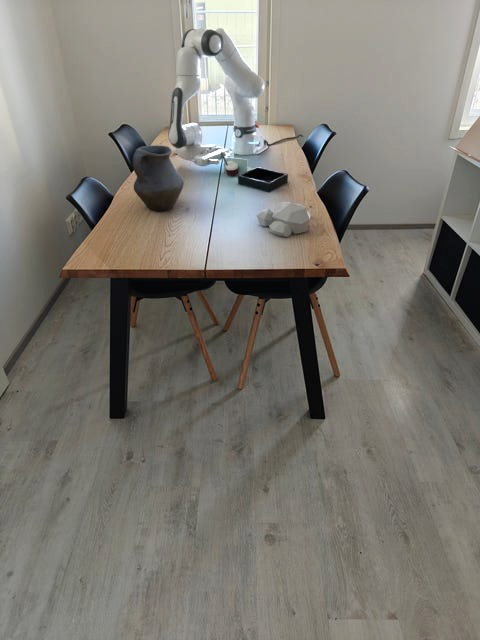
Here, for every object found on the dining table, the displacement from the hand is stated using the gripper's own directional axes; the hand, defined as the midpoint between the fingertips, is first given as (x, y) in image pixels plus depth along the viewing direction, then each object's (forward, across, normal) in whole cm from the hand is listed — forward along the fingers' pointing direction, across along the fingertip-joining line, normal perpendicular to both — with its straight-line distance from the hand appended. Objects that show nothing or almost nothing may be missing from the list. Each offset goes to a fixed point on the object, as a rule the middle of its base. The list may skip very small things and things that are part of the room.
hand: (224, 159), depth 213 cm
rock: (+57, -34, +7) cm, 67 cm away
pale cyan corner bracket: (+3, +8, +7) cm, 11 cm away
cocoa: (+4, 0, +7) cm, 8 cm away
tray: (+23, 0, +7) cm, 24 cm away
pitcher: (+5, -49, +7) cm, 50 cm away
